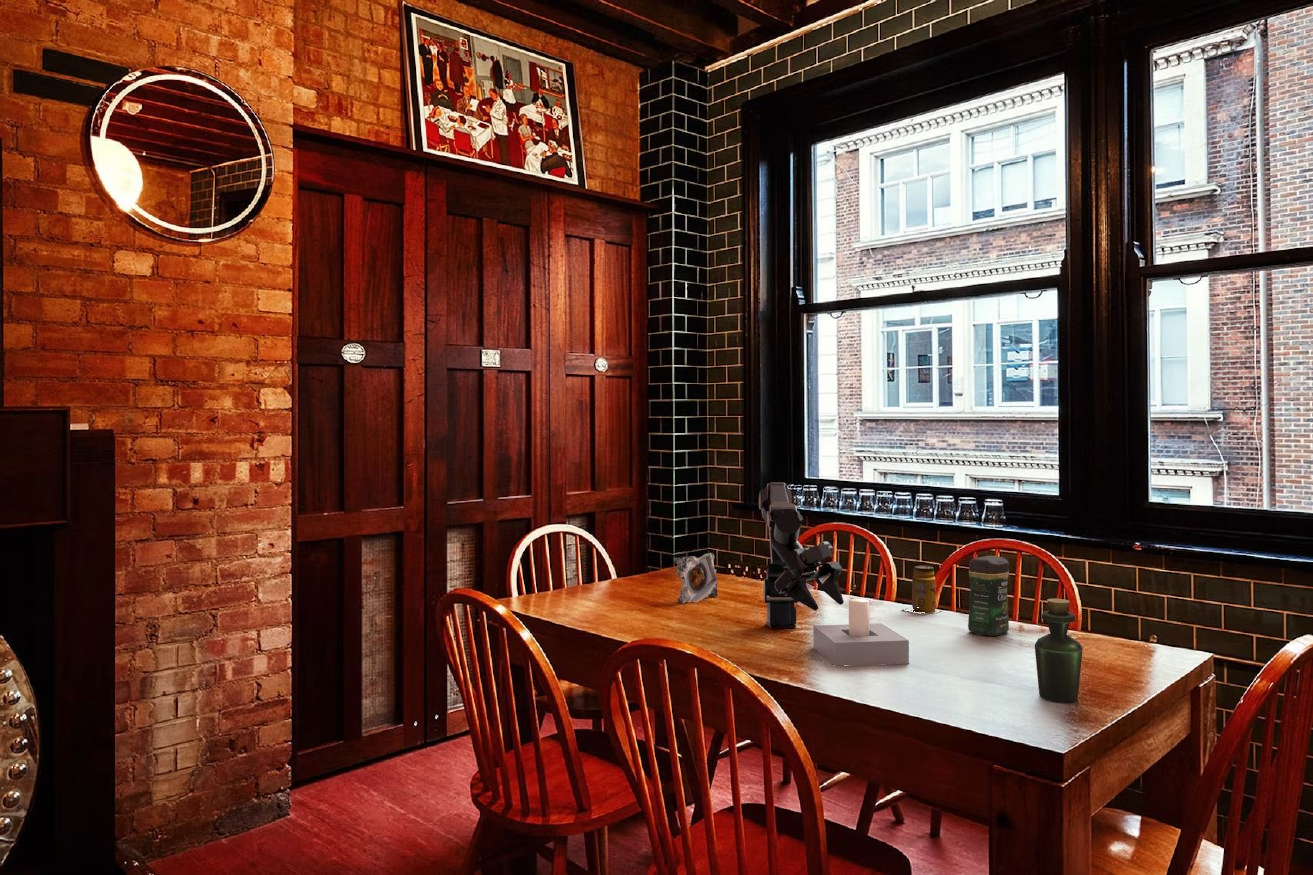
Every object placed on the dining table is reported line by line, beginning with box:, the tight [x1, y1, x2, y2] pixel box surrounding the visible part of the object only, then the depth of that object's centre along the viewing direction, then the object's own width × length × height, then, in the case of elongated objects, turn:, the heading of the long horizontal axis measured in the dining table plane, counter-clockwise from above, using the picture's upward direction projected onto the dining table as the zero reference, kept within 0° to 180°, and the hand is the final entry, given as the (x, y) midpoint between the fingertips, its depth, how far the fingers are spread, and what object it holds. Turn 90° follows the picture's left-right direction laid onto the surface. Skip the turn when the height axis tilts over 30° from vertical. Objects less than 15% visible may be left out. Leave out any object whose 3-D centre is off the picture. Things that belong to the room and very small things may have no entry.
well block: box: [812, 622, 910, 667], centre depth 193 cm, size 16×16×5 cm
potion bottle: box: [1034, 598, 1084, 704], centre depth 162 cm, size 8×8×18 cm
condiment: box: [902, 565, 941, 616], centre depth 238 cm, size 7×8×12 cm
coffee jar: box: [967, 555, 1010, 637], centre depth 213 cm, size 10×8×19 cm
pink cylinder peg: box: [848, 598, 870, 637], centre depth 193 cm, size 4×4×12 cm
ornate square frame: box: [673, 552, 718, 604], centre depth 256 cm, size 15×4×13 cm, turn 138°
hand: (829, 606), depth 199 cm, fingers open, 9 cm apart
